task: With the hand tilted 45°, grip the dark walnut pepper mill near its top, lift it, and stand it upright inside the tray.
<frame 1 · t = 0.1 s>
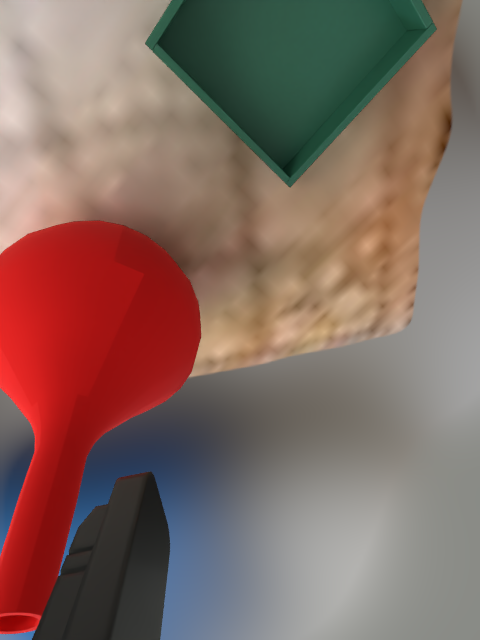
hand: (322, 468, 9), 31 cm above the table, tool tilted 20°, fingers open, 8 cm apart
tray: (284, 37, 29), on the table
vase: (111, 276, 40), on the table
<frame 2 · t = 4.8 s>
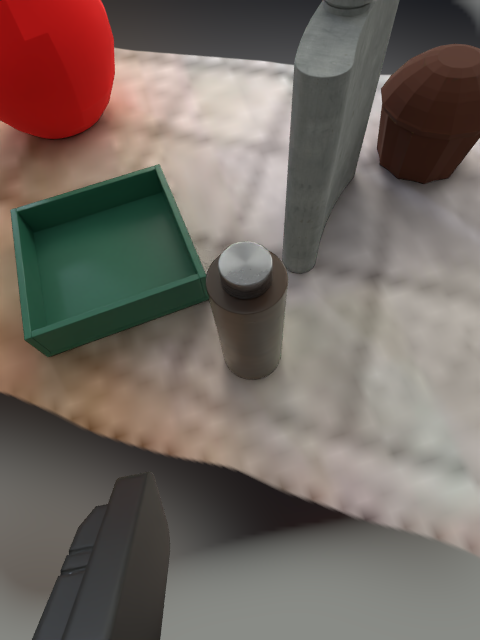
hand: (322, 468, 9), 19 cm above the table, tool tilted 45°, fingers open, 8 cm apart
tray: (115, 264, 36), on the table
vase: (66, 116, 49), on the table
muffin: (417, 156, 41), on the table
pepper mill: (252, 352, 31), on the table
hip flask: (316, 213, 38), on the table
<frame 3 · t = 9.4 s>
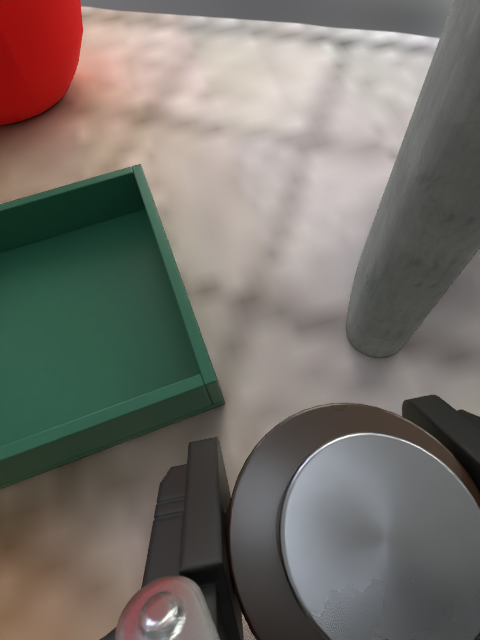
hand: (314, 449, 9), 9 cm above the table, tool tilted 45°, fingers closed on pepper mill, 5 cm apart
tray: (61, 331, 22), on the table
vase: (17, 95, 34), on the table
pepper mill: (302, 526, 16), on the table, touching gripper
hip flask: (395, 248, 23), on the table
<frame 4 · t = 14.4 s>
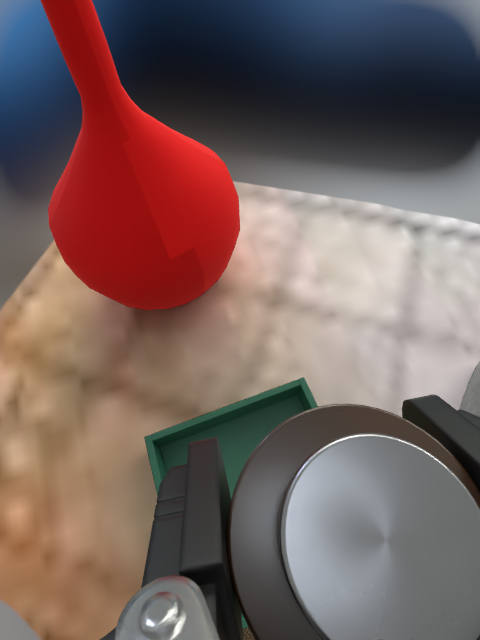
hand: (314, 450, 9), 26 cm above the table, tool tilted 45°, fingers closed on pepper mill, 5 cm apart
tray: (257, 496, 33), on the table
vase: (170, 271, 45), on the table
pepper mill: (303, 527, 16), point 17 cm above the table, touching gripper
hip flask: (475, 432, 34), on the table
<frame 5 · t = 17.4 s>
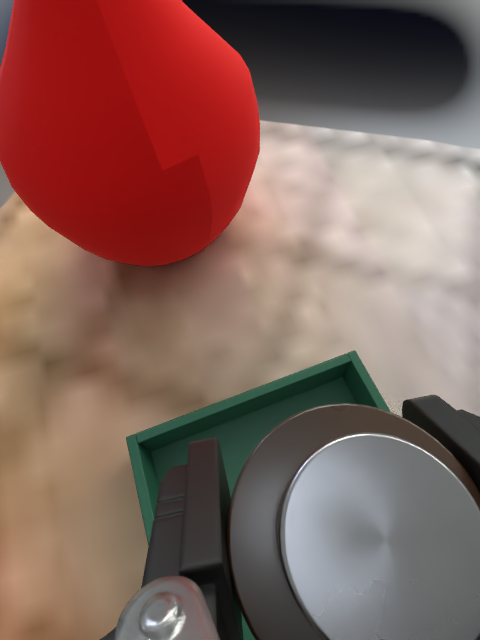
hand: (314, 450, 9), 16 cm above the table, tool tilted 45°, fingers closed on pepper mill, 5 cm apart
tray: (291, 522, 22), on the table
vase: (164, 222, 35), on the table
pepper mill: (303, 526, 16), point 7 cm above the table, touching gripper
when the fingers open (9 cm above the table, at t = 19.7 s): pepper mill stays where it is, resting on tray.
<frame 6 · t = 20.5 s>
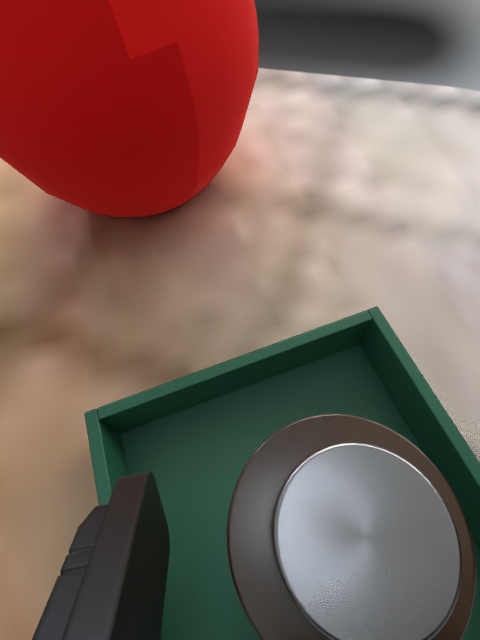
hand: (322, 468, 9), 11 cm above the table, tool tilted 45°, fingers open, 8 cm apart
tray: (297, 523, 17), on the table
vase: (148, 174, 30), on the table
pepper mill: (299, 526, 17), point 1 cm above the table, touching tray
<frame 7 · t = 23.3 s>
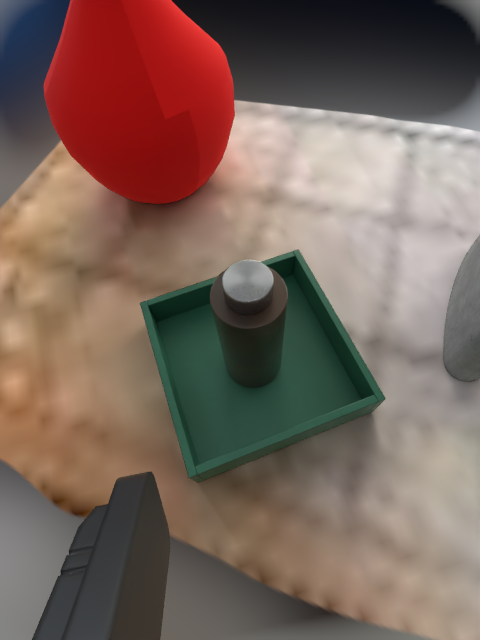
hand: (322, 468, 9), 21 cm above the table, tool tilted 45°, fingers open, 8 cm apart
tray: (253, 363, 33), on the table
vase: (165, 176, 45), on the table
pepper mill: (253, 361, 32), point 1 cm above the table, touching tray
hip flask: (469, 304, 35), on the table
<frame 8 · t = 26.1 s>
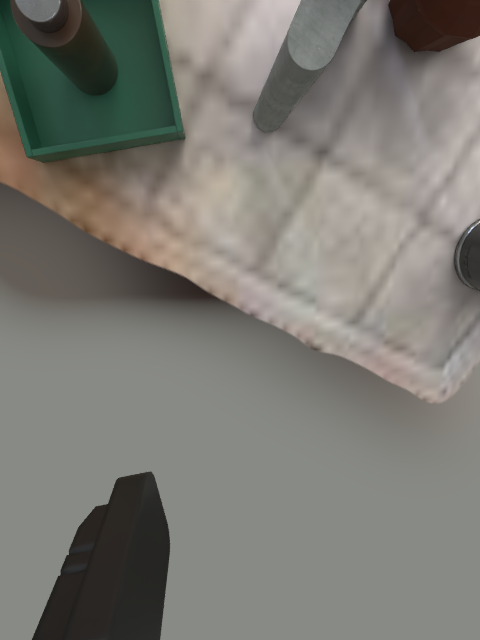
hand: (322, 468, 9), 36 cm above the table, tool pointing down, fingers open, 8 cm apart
tray: (94, 69, 37), on the table
muffin: (429, 4, 38), on the table
pepper mill: (93, 68, 36), point 1 cm above the table, touching tray
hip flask: (301, 59, 38), on the table
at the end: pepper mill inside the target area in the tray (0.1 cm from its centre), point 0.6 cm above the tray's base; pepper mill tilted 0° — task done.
